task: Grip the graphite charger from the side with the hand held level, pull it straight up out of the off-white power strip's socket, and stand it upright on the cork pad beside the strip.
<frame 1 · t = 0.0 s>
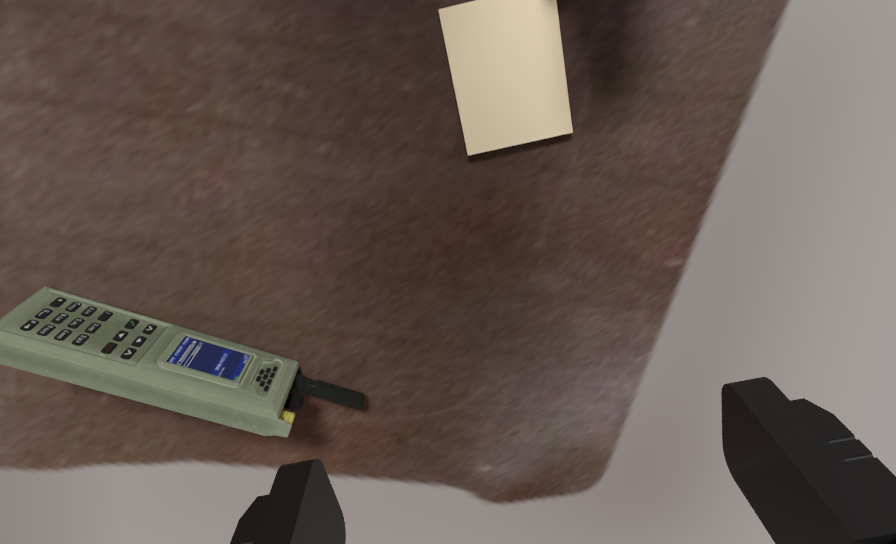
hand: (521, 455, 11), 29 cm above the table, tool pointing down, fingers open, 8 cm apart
handheld radio: (211, 345, 44), on the table
cork pad: (507, 72, 36), on the table
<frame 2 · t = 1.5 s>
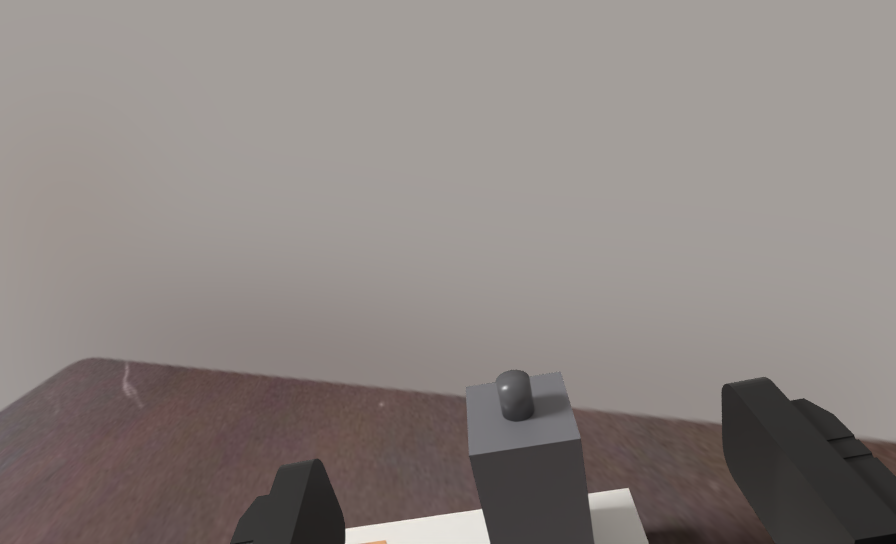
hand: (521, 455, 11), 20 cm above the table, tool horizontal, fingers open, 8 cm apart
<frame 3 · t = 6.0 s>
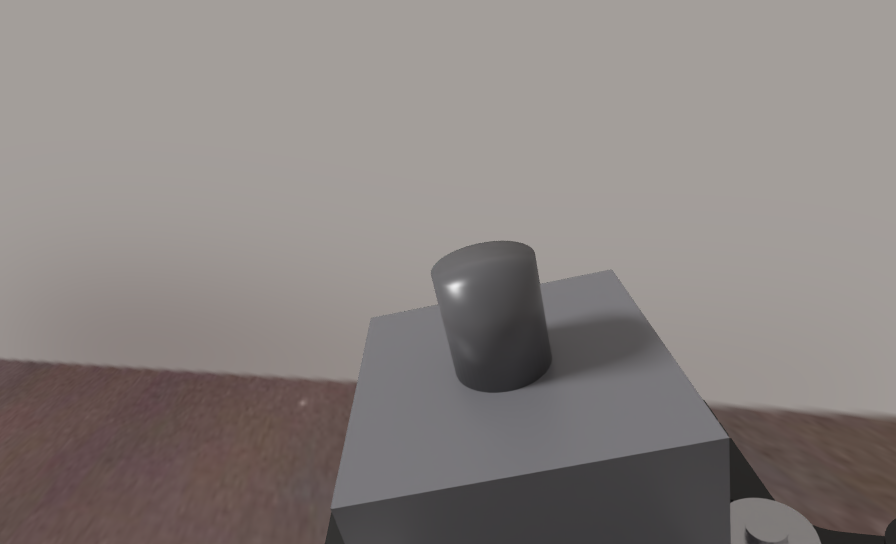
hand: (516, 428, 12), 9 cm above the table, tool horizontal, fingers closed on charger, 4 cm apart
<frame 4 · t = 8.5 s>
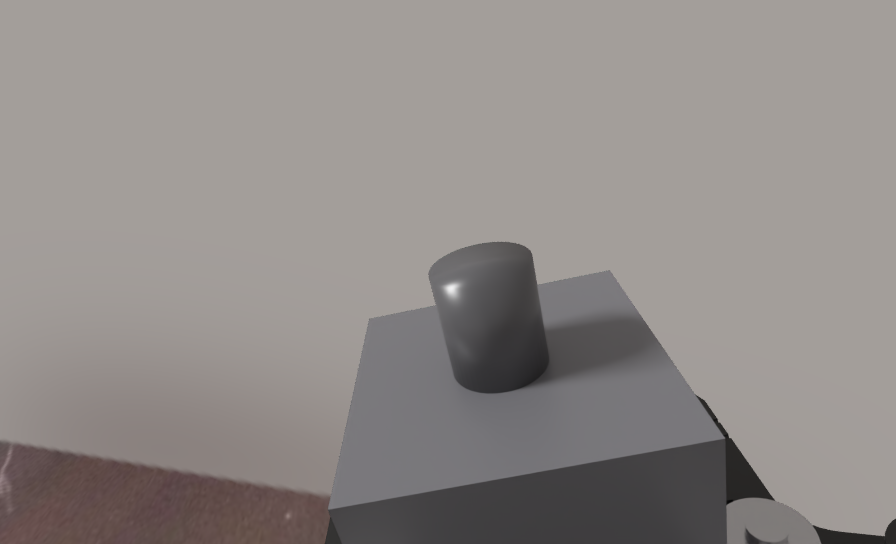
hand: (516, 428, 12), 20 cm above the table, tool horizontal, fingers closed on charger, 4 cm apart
when the fingers open (9 cm above the table, at t = 11.4 s): charger stays where it is, resting on cork pad.
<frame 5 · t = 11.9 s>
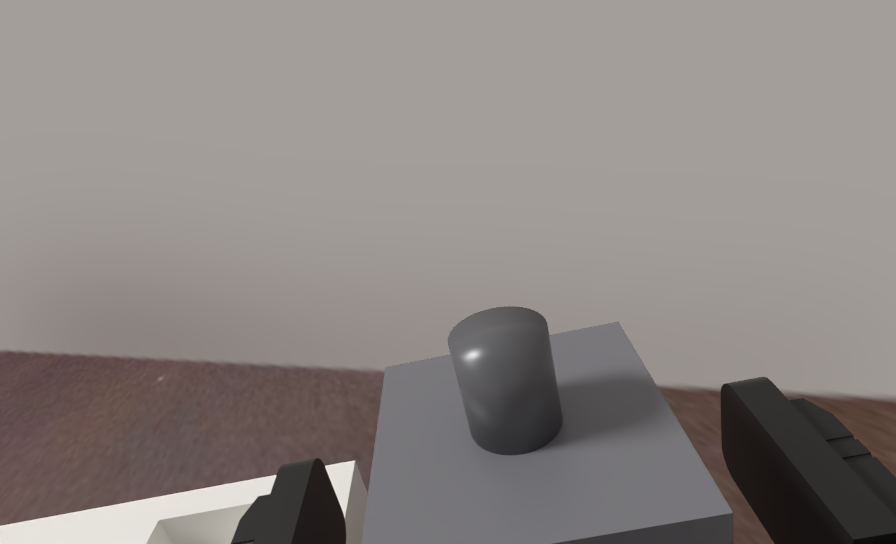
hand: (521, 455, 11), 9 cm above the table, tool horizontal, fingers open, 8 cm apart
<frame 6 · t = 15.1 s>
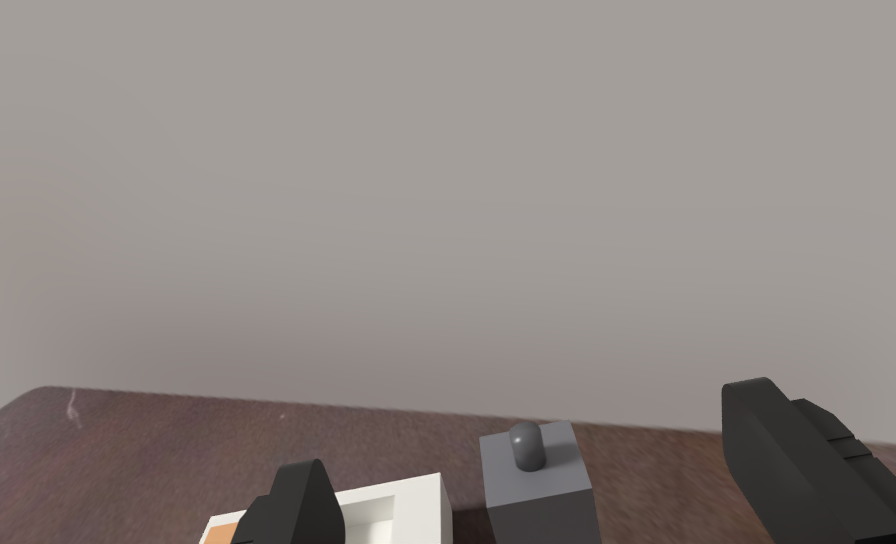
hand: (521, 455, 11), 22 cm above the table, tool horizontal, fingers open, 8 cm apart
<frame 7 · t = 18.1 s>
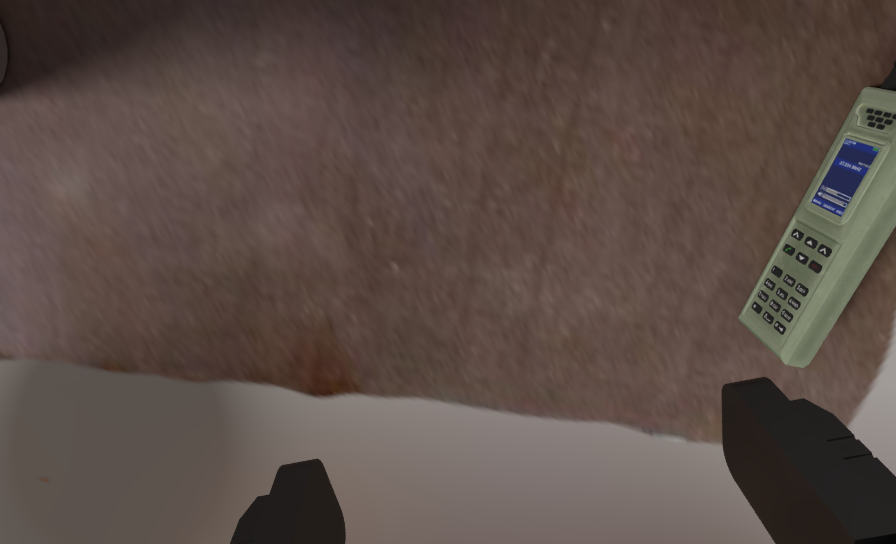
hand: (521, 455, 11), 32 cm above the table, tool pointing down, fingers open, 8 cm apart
handheld radio: (824, 180, 43), on the table
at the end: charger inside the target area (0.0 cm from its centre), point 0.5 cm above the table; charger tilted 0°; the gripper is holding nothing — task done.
